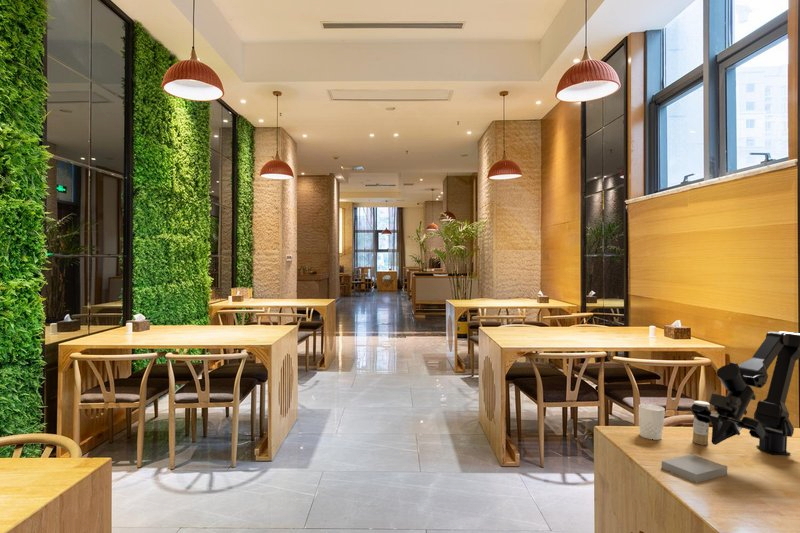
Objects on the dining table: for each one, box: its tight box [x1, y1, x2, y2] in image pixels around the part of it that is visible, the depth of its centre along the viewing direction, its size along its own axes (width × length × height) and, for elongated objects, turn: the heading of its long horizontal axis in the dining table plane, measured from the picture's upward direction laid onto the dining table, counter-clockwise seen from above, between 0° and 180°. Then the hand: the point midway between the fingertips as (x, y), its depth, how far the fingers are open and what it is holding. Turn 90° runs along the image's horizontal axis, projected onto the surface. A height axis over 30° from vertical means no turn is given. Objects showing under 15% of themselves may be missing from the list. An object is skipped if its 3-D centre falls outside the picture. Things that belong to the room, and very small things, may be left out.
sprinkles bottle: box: [691, 400, 711, 446], centre depth 164 cm, size 5×5×14 cm
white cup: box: [638, 403, 666, 441], centre depth 169 cm, size 8×8×10 cm
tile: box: [661, 453, 728, 484], centre depth 140 cm, size 3×10×14 cm
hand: (713, 443), depth 144 cm, fingers closed
